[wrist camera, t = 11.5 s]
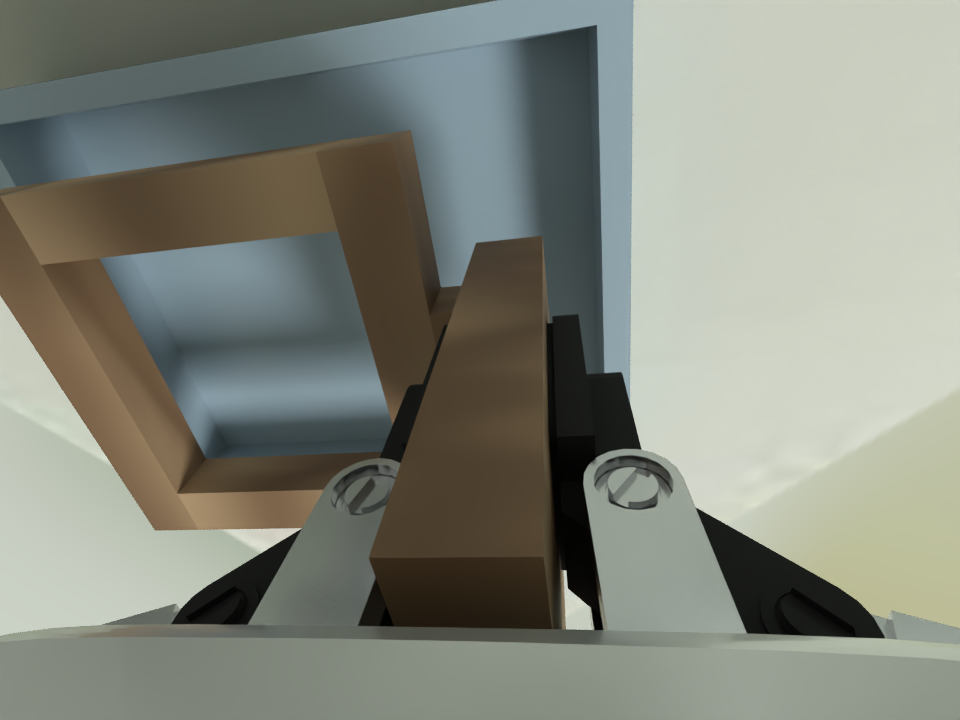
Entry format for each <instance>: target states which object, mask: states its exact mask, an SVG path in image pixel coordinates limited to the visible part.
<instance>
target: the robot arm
mask: <svg viewBox="0 0 960 720" xmlns="http://www.w3.org/2000/svg"><path fill="white" fill-rule="evenodd" d="M552 322H553V323H547V366H548V424H549V445H550V457H551V468H552V479H553V490H554V501H555V511H556V522H557V533H558V544H559V555H560V566H561V570H567V582H568V589H569V590H571V591H572V592H573V593H574V594H575V595H577V596H578V597H579V598H580V599H581V600H582V601H584V602H585V603H586V604H587V605H588V606H590V618H591V625H592V630H564V629H508V628H451V627H394V625H393V622H392V620H391V617H390V614H389V612H388V609H387V606H386V604H385V601H384V598H383V596H382V593H381V590H380V587H379V585H378V582H377V579H376V577H375V574H374V571H373V569H372V566H371V563H370V561H369V555H370V552H371V549H372V546H373V543H374V540H375V537H376V534H377V532H378V529H379V526H380V523H381V520H382V517H383V514H384V511H385V508H386V505H387V502H388V499H389V496H390V493H391V491H392V488H393V485H394V482H395V479H396V476H397V473H398V470H399V467H400V464H401V461H402V458H403V455H404V452H405V449H406V447H407V444H408V441H409V438H410V435H411V432H412V429H413V426H414V423H415V420H416V417H417V414H418V411H419V408H420V406H421V403H422V400H423V397H424V394H425V391H426V388H427V385H428V382H429V379H430V376H431V373H432V370H433V367H434V365H435V362H436V359H437V356H438V353H439V350H440V347H441V344H442V341H443V338H444V335H445V332H446V329H447V326H448V324H447V325H444V327H443V329H442V332H441V335H440V338H439V340H438V343H437V346H436V349H435V351H434V354H433V357H432V360H431V362H430V365H429V368H428V371H427V374H426V376H425V379H424V382H423V384H416V385H410V386H409V387H408V389H407V391H406V393H405V396H404V398H403V401H402V403H401V406H400V408H399V411H398V413H397V416H396V418H395V420H394V423H393V425H392V428H391V430H390V433H389V435H388V438H387V440H386V443H385V445H384V448H383V450H382V453H381V455H380V458H377V459H368V460H364V461H361V462H358V463H355V464H353V465H351V466H349V467H347V468H345V469H343V470H342V471H341V472H339V473H338V474H337V475H336V476H334V477H333V478H332V479H331V481H330V482H329V483H328V484H327V486H326V487H325V488H324V490H323V492H322V494H321V496H320V497H319V499H318V501H317V503H316V504H315V506H314V508H313V510H312V512H311V513H310V515H309V517H308V519H307V520H306V522H305V524H304V526H303V527H302V529H301V530H299V531H297V532H296V533H294V534H292V535H291V536H289V537H287V538H286V539H284V540H282V541H281V542H279V543H277V544H276V545H274V546H273V547H271V548H269V549H268V550H266V551H264V552H263V553H261V554H259V555H258V556H256V557H254V558H253V559H251V560H249V561H248V562H246V563H244V564H243V565H241V566H239V567H238V568H236V569H235V570H233V571H231V572H230V573H228V574H226V575H225V576H223V577H221V578H220V579H218V580H216V581H215V582H213V583H211V584H210V585H208V586H207V587H206V588H204V589H203V590H201V591H200V592H198V593H197V594H196V595H195V596H193V597H192V598H191V599H190V600H189V601H188V602H187V604H185V605H184V606H183V608H181V609H179V608H178V606H177V605H176V604H173V605H169V606H166V607H163V608H159V609H155V610H152V611H148V612H145V613H141V614H138V615H134V616H131V617H127V618H124V619H120V620H117V621H113V622H110V623H106V624H103V625H98V626H81V627H65V628H51V629H43V630H36V631H28V632H20V633H13V634H8V635H3V636H0V720H960V628H956V627H953V626H948V625H945V624H941V623H937V622H933V621H929V620H926V619H922V618H918V617H914V616H910V615H906V614H902V613H899V612H895V611H891V612H890V614H889V617H888V619H886V618H882V617H879V616H875V615H871V614H870V613H869V612H868V611H867V610H866V609H865V608H864V607H863V606H862V605H861V604H860V603H859V602H858V601H857V600H855V599H854V598H853V597H851V596H850V595H848V594H846V593H845V592H844V591H842V590H841V589H840V588H838V587H836V586H834V585H832V584H831V583H829V582H827V581H826V580H824V579H822V578H820V577H818V576H817V575H815V574H813V573H811V572H809V571H808V570H806V569H804V568H802V567H800V566H799V565H797V564H795V563H794V562H792V561H790V560H788V559H786V558H785V557H783V556H781V555H779V554H778V553H776V552H774V551H772V550H770V549H769V548H767V547H765V546H763V545H762V544H759V543H758V542H756V541H754V540H753V539H751V538H749V537H747V536H745V535H743V534H742V533H740V532H738V531H737V530H735V529H733V528H731V527H729V526H728V525H726V524H724V523H722V522H721V521H719V520H717V519H715V518H713V517H712V516H710V515H708V514H706V513H705V512H703V511H701V510H699V509H697V508H696V507H695V505H694V503H693V500H692V498H691V495H690V493H689V490H688V488H687V485H686V483H685V481H684V478H683V476H682V475H681V473H680V472H679V470H678V469H677V467H676V466H674V465H673V464H672V463H671V462H669V461H668V460H667V459H665V458H663V457H661V456H659V455H657V454H655V453H652V452H648V451H644V450H641V446H640V442H639V438H638V434H637V430H636V426H635V422H634V418H633V414H632V410H631V406H630V402H629V398H628V394H627V390H626V386H625V382H624V378H623V375H622V373H621V372H611V373H595V374H587V373H586V366H585V359H584V351H583V344H582V337H581V329H580V322H579V315H578V314H572V315H560V316H552Z"/></svg>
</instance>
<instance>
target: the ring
mask: <svg viewBox="0 0 960 720" xmlns="http://www.w3.org/2000/svg"><path fill="white" fill-rule="evenodd" d="M335 231H338V233H339V237H340V240H341V244H342V248H343V251H344V255H345V258H346V262H347V265H348V269H349V272H350V276H351V279H352V283H353V286H354V290H355V294H356V297H357V301H358V304H359V308H360V311H361V315H362V318H363V322H364V325H365V329H366V333H367V336H368V340H369V343H370V347H371V350H372V354H373V357H374V361H375V364H376V368H377V371H378V375H379V379H380V382H381V386H382V389H383V393H384V396H385V400H386V403H387V407H388V410H389V414H390V417H391V421H392V425H393V423H394V420H395V418H396V416H397V413H398V411H399V408H400V406H401V403H402V401H403V398H404V396H405V393H406V391H407V389H408V387H409V386H410V385H416V384H423V382H424V379H425V376H426V374H427V371H428V368H429V365H430V362H431V360H432V357H433V354H434V351H435V349H436V346H437V343H438V340H439V338H440V335H441V332H442V329H443V327H444V325H447V324H448V326H447V329H446V332H445V335H444V338H443V341H442V344H441V347H440V350H439V353H438V356H437V359H436V362H435V365H434V367H433V370H432V373H431V376H430V379H429V382H428V385H427V388H426V391H425V394H424V397H423V400H422V403H421V406H420V408H419V411H418V414H417V417H416V420H415V423H414V426H413V429H412V432H411V435H410V438H409V441H408V444H407V447H406V449H405V452H404V455H403V458H402V461H401V464H400V467H399V470H398V473H397V476H396V479H395V482H394V485H393V488H392V491H391V493H390V496H389V499H388V502H387V505H386V508H385V511H384V514H383V517H382V520H381V523H380V526H379V529H378V532H377V534H376V537H375V540H374V543H373V546H372V549H371V552H370V555H369V561H370V563H371V566H372V569H373V571H374V574H375V577H376V579H377V582H378V585H379V587H380V590H381V593H382V596H383V598H384V601H385V604H386V606H387V609H388V612H389V614H390V617H391V620H392V622H393V625H394V627H451V628H508V629H564V630H566V627H565V600H564V576H563V570H561V566H560V555H559V544H558V533H557V522H556V511H555V501H554V490H553V479H552V468H551V457H550V445H549V424H548V366H547V323H549V311H548V299H547V286H546V274H545V261H544V249H543V236H535V237H526V238H516V239H507V240H497V241H488V242H478V243H476V244H475V247H474V250H473V253H472V256H471V259H470V262H469V265H468V268H467V271H466V274H465V277H464V280H463V282H462V285H461V286H451V287H441V285H440V280H439V274H438V269H437V264H436V259H435V253H434V248H433V243H432V238H431V233H430V227H429V222H428V217H427V212H426V206H425V201H424V196H423V191H422V185H421V180H420V175H419V170H418V164H417V159H416V154H415V149H414V144H413V138H412V133H411V130H407V131H401V132H394V133H387V134H380V135H373V136H366V137H359V138H352V139H345V140H338V141H331V142H324V143H317V144H310V145H303V146H296V147H289V148H282V149H275V150H268V151H261V152H254V153H247V154H240V155H233V156H226V157H219V158H212V159H206V160H199V161H192V162H185V163H178V164H171V165H164V166H157V167H150V168H143V169H136V170H129V171H122V172H115V173H108V174H101V175H94V176H87V177H80V178H73V179H66V180H59V181H52V182H45V183H38V184H31V185H24V186H17V187H11V188H4V189H0V295H1V297H2V299H3V300H4V302H5V303H6V305H7V306H8V308H9V309H10V311H11V312H12V314H13V315H14V317H15V318H16V320H17V321H18V323H19V324H20V326H21V327H22V329H23V330H24V332H25V333H26V335H27V336H28V338H29V340H30V341H31V343H32V344H33V346H34V347H35V349H36V350H37V352H38V353H39V355H40V356H41V358H42V359H43V361H44V362H45V364H46V365H47V367H48V368H49V370H50V371H51V373H52V374H53V376H54V378H55V379H56V381H57V382H58V384H59V385H60V387H61V388H62V390H63V391H64V393H65V394H66V396H67V397H68V399H69V400H70V402H71V403H72V405H73V406H74V408H75V409H76V411H77V412H78V414H79V415H80V417H81V419H82V420H83V422H84V423H85V425H86V426H87V428H88V429H89V431H90V432H91V434H92V435H93V437H94V438H95V440H96V441H97V443H98V444H99V446H100V447H101V449H102V450H103V452H104V453H105V455H106V456H107V458H108V460H109V461H110V463H111V464H112V466H113V467H114V469H115V470H116V472H117V473H118V475H119V476H120V478H121V479H122V481H123V482H124V484H125V485H126V487H127V488H128V490H129V491H130V493H131V494H132V496H133V497H134V499H135V500H136V502H137V503H138V505H139V506H140V508H141V509H142V511H143V513H144V514H145V515H146V517H147V519H148V520H149V522H150V523H151V525H152V526H153V528H154V529H155V530H205V529H207V530H208V529H269V528H302V527H303V526H304V524H305V522H306V520H307V519H308V517H309V515H310V513H311V512H312V510H313V508H314V506H315V504H316V503H317V501H318V499H319V497H320V496H321V494H322V492H323V490H324V488H325V487H326V486H327V484H328V483H329V482H330V481H331V479H332V478H333V477H334V476H336V475H337V474H338V473H339V472H341V471H342V470H343V469H345V468H347V467H349V466H351V465H353V464H355V463H358V462H361V461H364V460H368V459H377V458H380V455H381V453H382V452H362V453H337V454H313V455H288V456H263V457H239V458H214V459H206V457H205V456H204V454H203V452H202V450H201V448H200V446H199V444H198V442H197V441H196V439H195V437H194V435H193V433H192V431H191V429H190V427H189V426H188V424H187V422H186V420H185V418H184V416H183V414H182V412H181V411H180V409H179V407H178V405H177V403H176V401H175V399H174V397H173V396H172V394H171V392H170V390H169V388H168V386H167V384H166V382H165V381H164V379H163V377H162V375H161V373H160V371H159V369H158V367H157V366H156V364H155V362H154V360H153V358H152V356H151V354H150V352H149V351H148V349H147V347H146V345H145V343H144V341H143V339H142V337H141V336H140V334H139V332H138V330H137V328H136V326H135V324H134V322H133V321H132V319H131V317H130V315H129V313H128V311H127V309H126V307H125V305H124V304H123V302H122V300H121V298H120V296H119V294H118V292H117V290H116V289H115V287H114V285H113V283H112V281H111V279H110V277H109V275H108V274H107V272H106V270H105V268H104V266H103V264H102V262H101V260H100V259H99V258H106V257H115V256H124V255H133V254H141V253H150V252H159V251H168V250H177V249H185V248H194V247H203V246H212V245H221V244H229V243H238V242H247V241H256V240H265V239H273V238H282V237H291V236H300V235H308V234H317V233H326V232H335Z"/></svg>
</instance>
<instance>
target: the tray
mask: <svg viewBox="0 0 960 720" xmlns="http://www.w3.org/2000/svg"><path fill="white" fill-rule="evenodd" d="M632 81H633V0H496V1H491V2H485V3H480V4H474V5H468V6H463V7H457V8H452V9H446V10H441V11H435V12H430V13H424V14H418V15H413V16H407V17H402V18H396V19H391V20H385V21H380V22H374V23H369V24H363V25H357V26H352V27H346V28H341V29H335V30H330V31H324V32H319V33H313V34H307V35H302V36H296V37H291V38H285V39H280V40H274V41H269V42H263V43H257V44H252V45H246V46H241V47H235V48H230V49H224V50H219V51H213V52H208V53H202V54H196V55H191V56H185V57H180V58H174V59H169V60H163V61H158V62H152V63H146V64H141V65H135V66H130V67H124V68H119V69H113V70H108V71H102V72H97V73H91V74H85V75H80V76H74V77H69V78H63V79H58V80H52V81H47V82H41V83H35V84H30V85H24V86H19V87H13V88H8V89H2V90H0V189H4V188H11V187H17V186H24V185H31V184H38V183H45V182H52V181H59V180H66V179H73V178H80V177H87V176H94V175H101V174H108V173H115V172H122V171H129V170H136V169H143V168H150V167H157V166H164V165H171V164H178V163H185V162H192V161H199V160H206V159H212V158H219V157H226V156H233V155H240V154H247V153H254V152H261V151H268V150H275V149H282V148H289V147H296V146H303V145H310V144H317V143H324V142H331V141H338V140H345V139H352V138H359V137H366V136H373V135H380V134H387V133H394V132H401V131H407V130H411V133H412V138H413V144H414V149H415V154H416V159H417V164H418V170H419V175H420V180H421V185H422V191H423V196H424V201H425V206H426V212H427V217H428V222H429V227H430V233H431V238H432V243H433V248H434V253H435V259H436V264H437V269H438V274H439V280H440V285H441V287H451V286H461V285H462V282H463V280H464V277H465V274H466V271H467V268H468V265H469V262H470V259H471V256H472V253H473V250H474V247H475V244H476V243H478V242H488V241H497V240H507V239H516V238H526V237H535V236H543V249H544V261H545V274H546V286H547V299H548V311H549V323H553V322H552V316H560V315H572V314H578V315H579V322H580V329H581V337H582V344H583V351H584V359H585V366H586V373H587V374H595V373H611V372H621V373H622V375H623V378H624V382H625V386H626V390H627V394H628V398H629V402H630V312H631V196H632ZM99 259H100V260H101V262H102V264H103V266H104V268H105V270H106V272H107V274H108V275H109V277H110V279H111V281H112V283H113V285H114V287H115V289H116V290H117V292H118V294H119V296H120V298H121V300H122V302H123V304H124V305H125V307H126V309H127V311H128V313H129V315H130V317H131V319H132V321H133V322H134V324H135V326H136V328H137V330H138V332H139V334H140V336H141V337H142V339H143V341H144V343H145V345H146V347H147V349H148V351H149V352H150V354H151V356H152V358H153V360H154V362H155V364H156V366H157V367H158V369H159V371H160V373H161V375H162V377H163V379H164V381H165V382H166V384H167V386H168V388H169V390H170V392H171V394H172V396H173V397H174V399H175V401H176V403H177V405H178V407H179V409H180V411H181V412H182V414H183V416H184V418H185V420H186V422H187V424H188V426H189V427H190V429H191V431H192V433H193V435H194V437H195V439H196V441H197V442H198V444H199V446H200V448H201V450H202V452H203V454H204V456H205V457H206V459H214V458H239V457H263V456H288V455H313V454H337V453H362V452H382V450H383V448H384V445H385V443H386V440H387V438H388V435H389V433H390V430H391V428H392V421H391V417H390V414H389V410H388V407H387V403H386V400H385V396H384V393H383V389H382V386H381V382H380V379H379V375H378V371H377V368H376V364H375V361H374V357H373V354H372V350H371V347H370V343H369V340H368V336H367V333H366V329H365V325H364V322H363V318H362V315H361V311H360V308H359V304H358V301H357V297H356V294H355V290H354V286H353V283H352V279H351V276H350V272H349V269H348V265H347V262H346V258H345V255H344V251H343V248H342V244H341V240H340V237H339V233H338V231H335V232H326V233H317V234H308V235H300V236H291V237H282V238H273V239H265V240H256V241H247V242H238V243H229V244H221V245H212V246H203V247H194V248H185V249H177V250H168V251H159V252H150V253H141V254H133V255H124V256H115V257H106V258H99Z"/></svg>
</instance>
